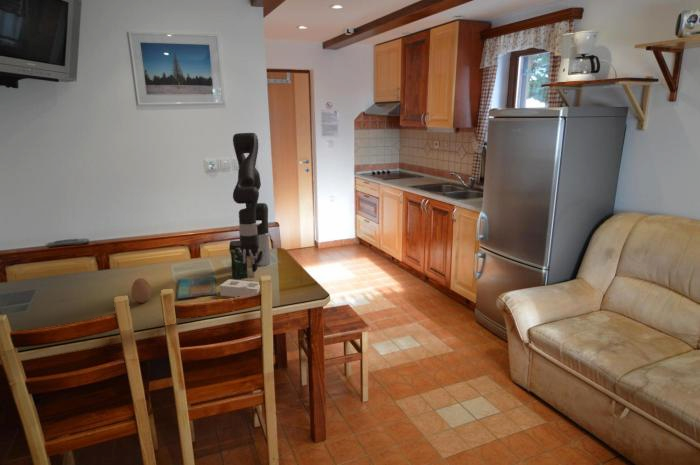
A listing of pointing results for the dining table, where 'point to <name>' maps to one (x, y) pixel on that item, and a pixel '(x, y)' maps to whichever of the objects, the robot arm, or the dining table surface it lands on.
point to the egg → (141, 290)
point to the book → (196, 288)
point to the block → (238, 288)
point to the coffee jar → (236, 262)
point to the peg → (249, 267)
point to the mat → (242, 280)
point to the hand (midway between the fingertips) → (250, 270)
